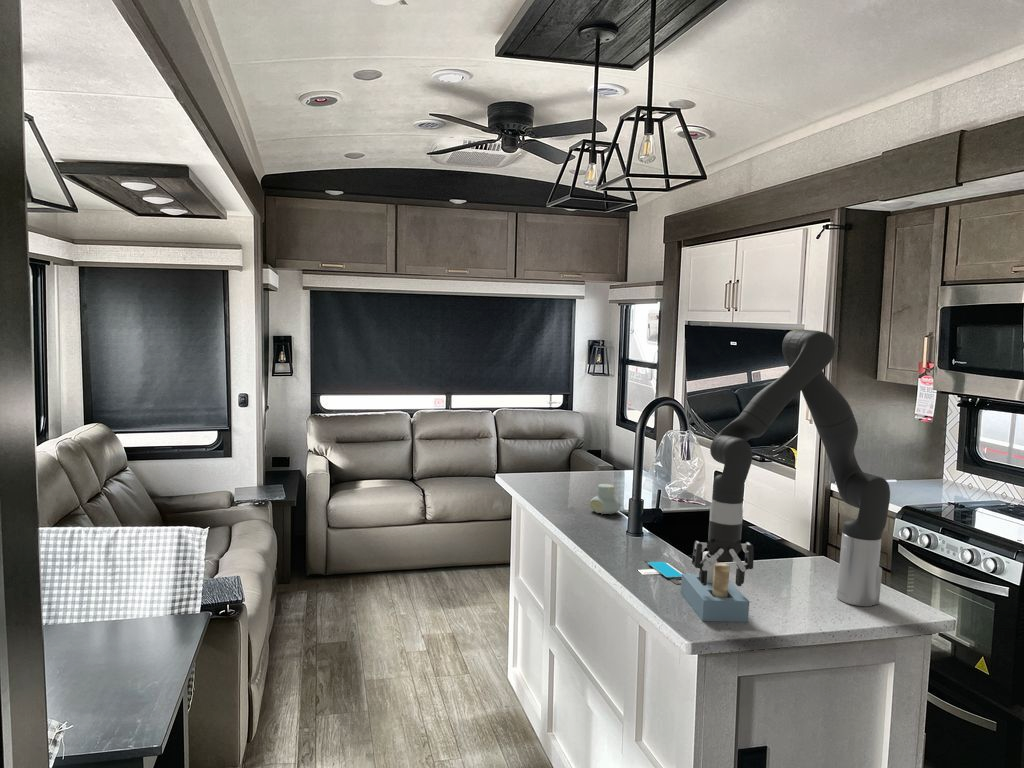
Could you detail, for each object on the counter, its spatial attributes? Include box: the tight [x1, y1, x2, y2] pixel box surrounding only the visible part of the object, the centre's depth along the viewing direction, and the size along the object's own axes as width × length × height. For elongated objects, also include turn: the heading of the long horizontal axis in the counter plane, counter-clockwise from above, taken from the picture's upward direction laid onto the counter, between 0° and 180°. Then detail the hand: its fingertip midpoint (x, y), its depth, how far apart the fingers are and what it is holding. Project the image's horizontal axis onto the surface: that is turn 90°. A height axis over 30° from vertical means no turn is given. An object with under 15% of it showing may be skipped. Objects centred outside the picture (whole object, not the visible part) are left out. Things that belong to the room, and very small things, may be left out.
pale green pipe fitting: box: [589, 483, 621, 515], centre depth 272 cm, size 11×8×10 cm
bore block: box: [680, 550, 751, 623], centre depth 186 cm, size 11×18×12 cm, turn 4°
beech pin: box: [712, 562, 731, 598], centre depth 182 cm, size 4×4×11 cm
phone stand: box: [637, 558, 687, 585], centre depth 211 cm, size 20×12×2 cm, turn 16°
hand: (720, 584), depth 182 cm, fingers open, 8 cm apart
